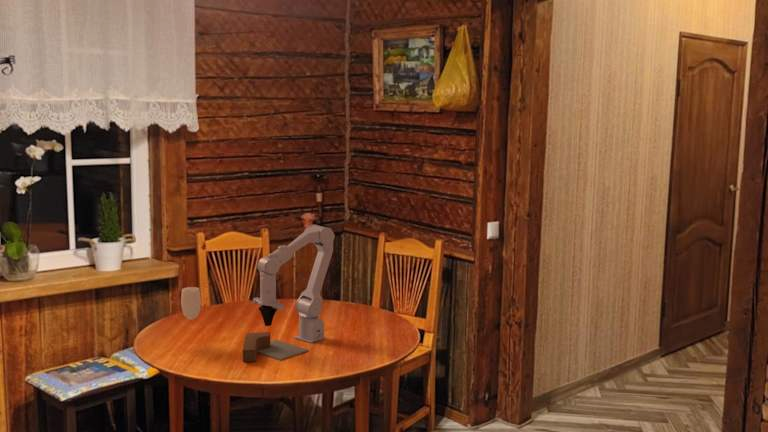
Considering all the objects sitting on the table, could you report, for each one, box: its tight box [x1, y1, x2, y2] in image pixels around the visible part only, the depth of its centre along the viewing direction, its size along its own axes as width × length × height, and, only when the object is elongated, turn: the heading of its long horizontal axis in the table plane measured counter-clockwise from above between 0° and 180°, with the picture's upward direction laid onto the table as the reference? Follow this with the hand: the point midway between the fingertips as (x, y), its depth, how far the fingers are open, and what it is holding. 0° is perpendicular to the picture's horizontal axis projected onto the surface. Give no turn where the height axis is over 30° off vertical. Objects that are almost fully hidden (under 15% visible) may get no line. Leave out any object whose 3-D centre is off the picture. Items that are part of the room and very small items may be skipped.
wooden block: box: [242, 331, 271, 363], centre depth 276 cm, size 9×4×18 cm
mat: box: [257, 339, 309, 362], centre depth 281 cm, size 17×14×1 cm
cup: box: [180, 286, 202, 321], centre depth 286 cm, size 7×7×21 cm
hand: (268, 325), depth 283 cm, fingers closed
